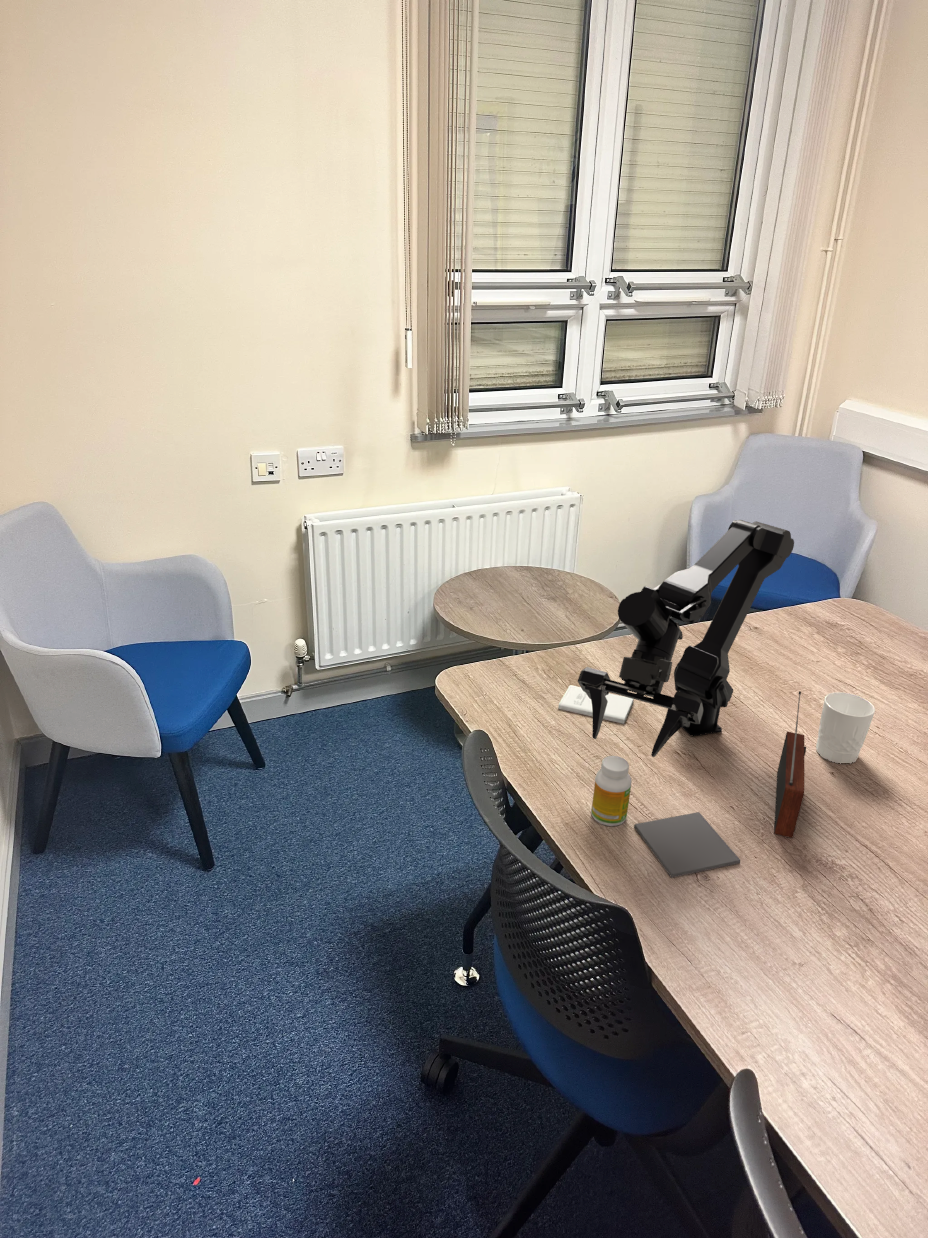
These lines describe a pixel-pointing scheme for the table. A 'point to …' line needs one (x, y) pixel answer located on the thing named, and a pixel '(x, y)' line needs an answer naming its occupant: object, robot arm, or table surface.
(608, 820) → the supplement bottle
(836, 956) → the table surface
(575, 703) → the external hard drive
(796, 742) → the radio
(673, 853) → the coaster mat
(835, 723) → the white cup
